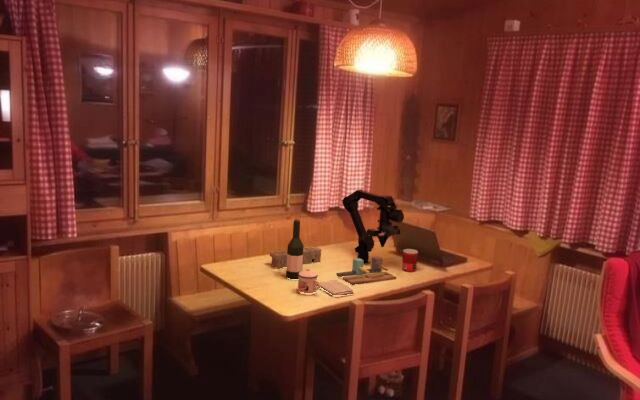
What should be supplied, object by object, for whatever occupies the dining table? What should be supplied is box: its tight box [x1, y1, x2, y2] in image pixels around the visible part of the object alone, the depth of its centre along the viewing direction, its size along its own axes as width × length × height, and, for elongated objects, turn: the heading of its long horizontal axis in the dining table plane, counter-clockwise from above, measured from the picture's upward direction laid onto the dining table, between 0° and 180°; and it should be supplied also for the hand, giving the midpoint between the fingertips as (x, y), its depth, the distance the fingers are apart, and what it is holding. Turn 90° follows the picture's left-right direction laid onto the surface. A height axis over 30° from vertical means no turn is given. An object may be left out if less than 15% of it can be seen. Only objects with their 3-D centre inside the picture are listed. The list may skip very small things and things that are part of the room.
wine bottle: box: [285, 218, 305, 279], centre depth 284 cm, size 8×8×30 cm
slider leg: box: [351, 258, 370, 276], centre depth 294 cm, size 12×4×8 cm, turn 29°
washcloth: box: [317, 279, 355, 295], centre depth 272 cm, size 12×18×3 cm, turn 33°
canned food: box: [401, 248, 419, 273], centre depth 309 cm, size 8×8×11 cm
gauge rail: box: [335, 256, 389, 278], centre depth 295 cm, size 12×27×8 cm, turn 119°
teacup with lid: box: [297, 267, 320, 293], centre depth 265 cm, size 12×9×12 cm
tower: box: [269, 245, 322, 269], centre depth 309 cm, size 8×8×29 cm
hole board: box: [342, 271, 397, 286], centre depth 291 cm, size 9×27×1 cm, turn 119°
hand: (382, 247), depth 308 cm, fingers closed
